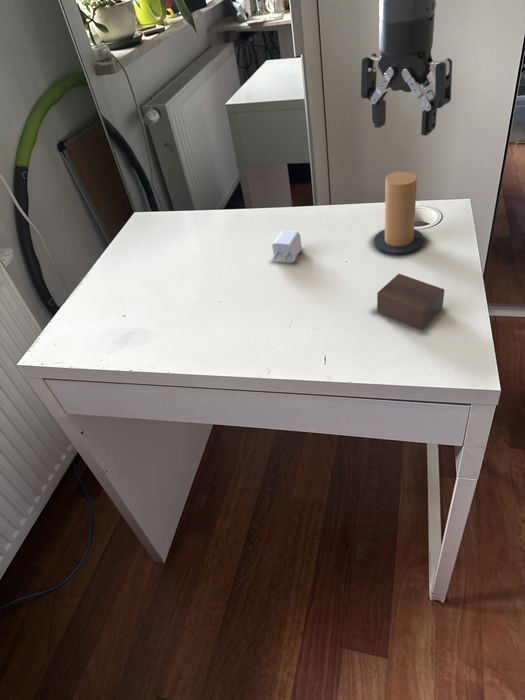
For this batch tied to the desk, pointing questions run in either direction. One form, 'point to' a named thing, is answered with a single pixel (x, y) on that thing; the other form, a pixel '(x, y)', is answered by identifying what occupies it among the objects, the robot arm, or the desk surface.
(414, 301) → the walnut block
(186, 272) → the desk surface
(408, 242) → the tan cylinder
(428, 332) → the desk surface
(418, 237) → the coaster
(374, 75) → the robot arm
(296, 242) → the usb wall charger
